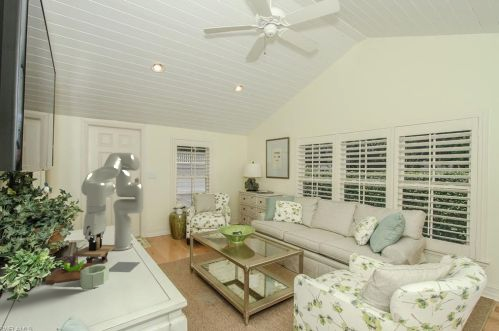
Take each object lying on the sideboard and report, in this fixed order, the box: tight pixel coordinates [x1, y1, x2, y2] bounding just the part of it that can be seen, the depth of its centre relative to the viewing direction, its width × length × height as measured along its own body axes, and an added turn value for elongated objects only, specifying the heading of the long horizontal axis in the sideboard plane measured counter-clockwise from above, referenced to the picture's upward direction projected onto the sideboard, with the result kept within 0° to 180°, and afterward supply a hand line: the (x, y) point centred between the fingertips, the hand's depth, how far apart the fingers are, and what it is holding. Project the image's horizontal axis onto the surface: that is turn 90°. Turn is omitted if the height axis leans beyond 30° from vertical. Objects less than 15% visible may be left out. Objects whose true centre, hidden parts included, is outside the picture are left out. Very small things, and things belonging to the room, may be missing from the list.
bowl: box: [79, 264, 110, 290], centre depth 110 cm, size 10×10×6 cm
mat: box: [109, 261, 141, 273], centre depth 127 cm, size 12×12×1 cm
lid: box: [72, 237, 116, 258], centre depth 110 cm, size 12×12×6 cm
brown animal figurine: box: [85, 252, 109, 264], centre depth 133 cm, size 12×10×8 cm
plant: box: [45, 255, 98, 285], centre depth 118 cm, size 20×20×11 cm
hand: (95, 248), depth 110 cm, fingers closed on lid, 3 cm apart
